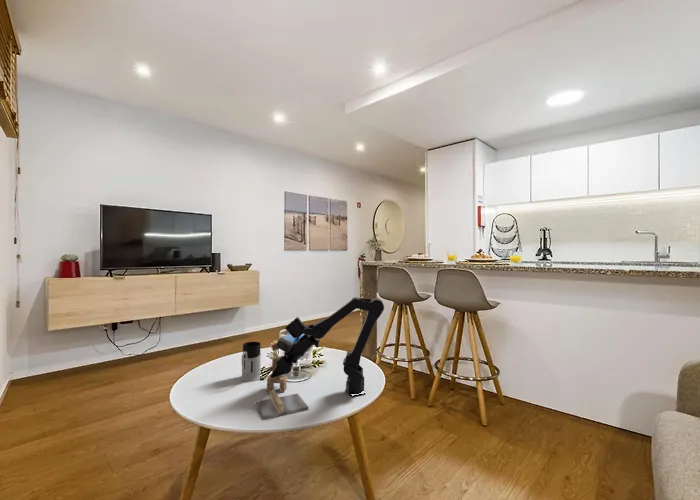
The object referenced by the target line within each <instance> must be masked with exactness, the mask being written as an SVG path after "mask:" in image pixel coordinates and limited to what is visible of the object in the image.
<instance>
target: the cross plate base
mask: <svg viewBox="0 0 700 500" xmlns="http://www.w3.org/2000/svg"><path fill="white" fill-rule="evenodd" d="M255 406H256V408H257V409H258V413H259V415H261V418H262V419H263V420H267V419H271V418H275V417H281V416H284V415H289V414H294V413H295V414H296V413H298V412H303V411H308V410H309V406H308V404H307V403H306V402H305V401H304V399H303V398H302V397H301V395H299V394H298V393H294V394H292V393H291V394H288V395H283V396H279V395H278V393H277V391H276V390H274V389H273V390H272V391H270V392H269V398H268V399H263V400H257V401H255Z"/></svg>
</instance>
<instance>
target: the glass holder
mask: <svg viewBox="0 0 700 500" xmlns="http://www.w3.org/2000/svg"><path fill="white" fill-rule="evenodd" d="M261 357H262V355H261V342H260V341H248V342H244V343H243V344H242V355H241V377H240V380H241V381H242V382H246V383H248V382H249V383H251V382H256V381H259V380H261V379H260V374H261V367H262V366H261V365H262V364H261V362H262V361H261V359H262V358H261Z"/></svg>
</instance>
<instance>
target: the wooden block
mask: <svg viewBox="0 0 700 500" xmlns="http://www.w3.org/2000/svg"><path fill="white" fill-rule="evenodd" d="M282 356H283V355H281V356H279V355H278V356H276V355H275V356H274V357H273V358H272V363H271V364H272V365H271V366H272V367H271V369H272V370H271V374H272V373H273V372H274V370H275V369H276V367H277V364H276V362H277V361H278V360H279V358H280V357H282ZM271 374H270V375H269V376H268V377H267V379H266V393H267V392H268V393H270V391H272V390H274V387H275V384H279V393H285V392H286V390H287V385H288V384H287V380H288V379H287V378H288V377H287V375H280V376H277V377H274V378H271V377H270V376H271Z"/></svg>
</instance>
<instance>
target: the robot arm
mask: <svg viewBox="0 0 700 500" xmlns="http://www.w3.org/2000/svg"><path fill="white" fill-rule="evenodd" d="M357 309H358V310H363V311H366V312H367V313H366V317H365V320H364V323H363V325H362V327H361V329H360V332H359V334H358V336H357V339H356V341H355V343H354V345H353V348H352V349H351V350H350V351H349V350H347V351H346V355H345V357H344V358H343V360H342V361H343V363H342V365H343V372H344V374H345V375H346V376H347V377H346V380H345V381H346V382H345V389H344V391H345V392H346V393H347V392H348V393H349V394H359V393H361V392H362V391H365V376H364V368H363V367H362V366H361V365H360V362H361V359H362V354H363V351H364V349H365V346H366V344H367V343H368V339H369V337H370V335H371V333H372V330H373V327H374V326H375V324H376V322H377V321H378V319H379V318H380V317H381V315H382V314H383V312H384V309H385V305H384V303H383V300H382V299H380V298H379V297H374V298H361V297H357V296H355V297H352V298H351V300H349V301H348V302H347V303H345V304H344V305H342V306H341V307H340V308H339V309H337V310H336V311H335V312H333V313H332V314H331V315H329V316H328V317H325V318H322V319H320V320H318V321H316V322H315V323H314V324H307V325H306V324H304V323H303V321H302V320H301V319H300V317H298V316H296V318H294V319H293V320H292V321H290V323H288V324H287V325H286V326H285V327H284V330H286V332H288V334H289V335H290V336H291V337H292V338H293V339H298V340H297V341H294V342H291V341H290V340H288V339H286V338H285V337H279V338H278V341H277V342H276V343H275V346H274V347H275V348H276V349H278V350H281V351H283V352H284V353H283V354H284V355H281V356H282V357H280V358H279V360H278V361H277V362H276V364H277V367H276V369H275V370H274V372H273V373H272V372H271V374H270V375H271V376H270V375H269V376H270V377H271V378H274V377H277V376H280V375H282V376H284V375H288V374H289V373H290V372H292V370H293V367H294V364H296V363H297V362H298V360H299V359H301V358H302V357H304V355H305V354H306V353H307V352H308V351H310V349H312V347H313V346H315V347H316V348H319V346H320V339H322V338H324V337H325V336H326V335H327V334H328V333H329V332H330V330H331V329H332V328H333V327H334V326H335V325H336V324H337V323H339V322H341V320H343V319H344V318H346V317H347V316H349V314H351V313H352V312H354V311H355V310H357ZM348 393H347V394H348Z"/></svg>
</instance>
